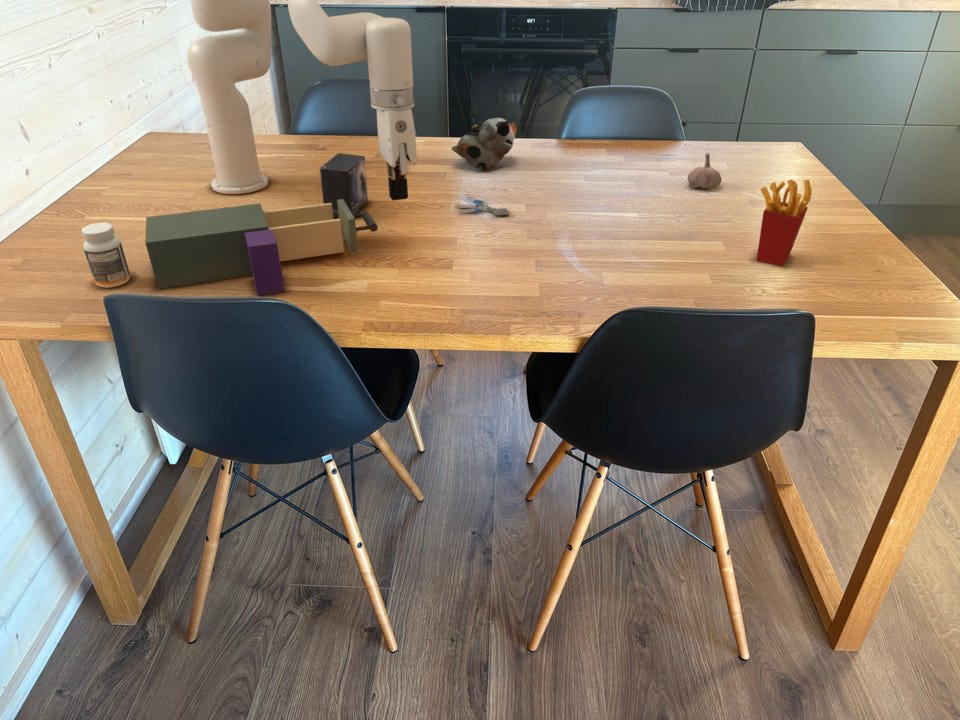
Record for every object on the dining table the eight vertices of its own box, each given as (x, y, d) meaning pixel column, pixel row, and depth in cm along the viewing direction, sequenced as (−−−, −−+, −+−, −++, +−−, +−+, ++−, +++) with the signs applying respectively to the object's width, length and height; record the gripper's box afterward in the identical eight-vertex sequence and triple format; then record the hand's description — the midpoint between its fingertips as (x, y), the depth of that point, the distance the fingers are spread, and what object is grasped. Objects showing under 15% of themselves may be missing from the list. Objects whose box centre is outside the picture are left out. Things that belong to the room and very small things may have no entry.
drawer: (368, 229, 139) (365, 196, 135) (381, 249, 131) (379, 215, 127) (249, 245, 132) (243, 211, 128) (255, 268, 124) (248, 232, 120)
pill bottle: (102, 274, 123) (85, 221, 118) (136, 273, 124) (120, 220, 118) (90, 289, 119) (72, 235, 113) (125, 288, 119) (108, 234, 114)
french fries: (787, 270, 127) (809, 190, 119) (741, 259, 131) (760, 181, 122) (797, 252, 133) (819, 176, 125) (753, 242, 137) (772, 167, 129)
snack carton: (253, 280, 122) (244, 232, 117) (280, 276, 123) (272, 229, 118) (257, 296, 117) (248, 246, 112) (285, 291, 119) (276, 242, 114)
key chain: (514, 213, 148) (514, 209, 148) (488, 224, 143) (488, 220, 143) (467, 196, 156) (467, 193, 156) (440, 206, 151) (440, 203, 151)
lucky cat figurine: (470, 151, 183) (497, 103, 177) (505, 178, 181) (533, 130, 174) (442, 149, 171) (469, 97, 164) (478, 178, 168) (508, 126, 162)
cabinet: (267, 246, 134) (260, 203, 129) (275, 271, 125) (268, 226, 120) (158, 261, 128) (146, 216, 123) (158, 289, 119) (145, 242, 114)
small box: (353, 220, 145) (348, 170, 139) (323, 217, 146) (317, 168, 140) (369, 202, 153) (366, 154, 148) (341, 199, 154) (336, 152, 149)
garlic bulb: (684, 189, 162) (690, 155, 157) (688, 179, 167) (694, 146, 163) (718, 194, 159) (725, 159, 155) (721, 184, 165) (728, 150, 161)
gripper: (425, 105, 117) (429, 209, 127) (401, 86, 129) (407, 183, 139) (382, 109, 115) (389, 214, 125) (361, 89, 127) (370, 187, 137)
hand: (398, 198), depth 132 cm, fingers closed
